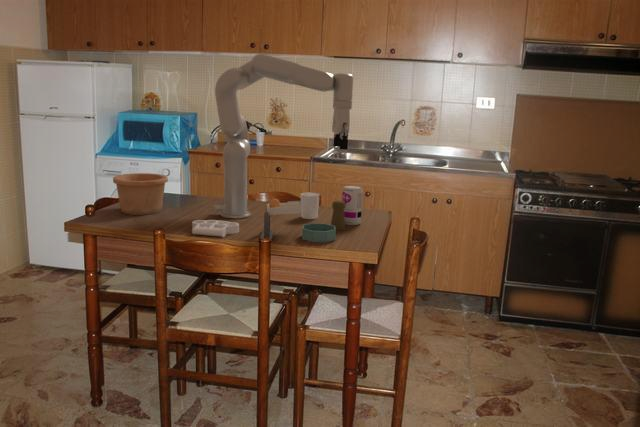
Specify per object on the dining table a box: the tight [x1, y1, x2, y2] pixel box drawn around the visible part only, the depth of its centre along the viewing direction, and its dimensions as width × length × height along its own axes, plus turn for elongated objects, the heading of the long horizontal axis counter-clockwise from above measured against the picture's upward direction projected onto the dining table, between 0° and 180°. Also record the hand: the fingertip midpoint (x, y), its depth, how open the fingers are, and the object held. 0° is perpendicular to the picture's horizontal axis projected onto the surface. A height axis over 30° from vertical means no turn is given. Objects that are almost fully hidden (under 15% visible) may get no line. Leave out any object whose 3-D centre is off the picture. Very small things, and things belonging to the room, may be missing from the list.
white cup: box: [300, 192, 320, 220], centre depth 246 cm, size 8×8×10 cm
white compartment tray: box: [191, 219, 240, 238], centre depth 219 cm, size 3×18×15 cm
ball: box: [268, 198, 281, 208], centre depth 213 cm, size 4×4×4 cm
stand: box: [259, 206, 274, 242], centre depth 215 cm, size 4×14×10 cm, turn 2°
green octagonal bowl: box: [301, 222, 337, 243], centre depth 216 cm, size 12×12×4 cm
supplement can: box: [341, 185, 364, 226], centre depth 239 cm, size 8×8×15 cm
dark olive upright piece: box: [330, 200, 346, 231], centre depth 230 cm, size 6×6×11 cm
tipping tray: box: [266, 200, 301, 216], centre depth 218 cm, size 12×18×2 cm, turn 2°
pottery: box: [112, 172, 169, 216], centre depth 247 cm, size 22×22×14 cm
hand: (340, 147), depth 239 cm, fingers open, 9 cm apart
